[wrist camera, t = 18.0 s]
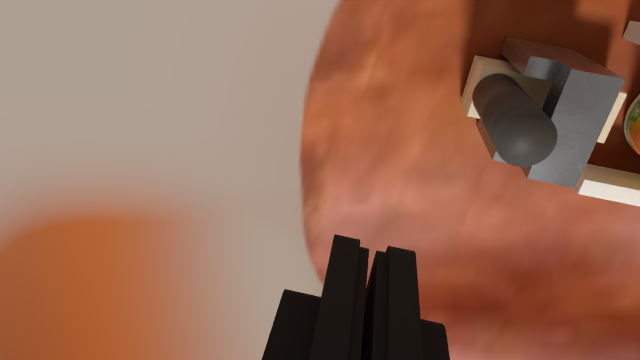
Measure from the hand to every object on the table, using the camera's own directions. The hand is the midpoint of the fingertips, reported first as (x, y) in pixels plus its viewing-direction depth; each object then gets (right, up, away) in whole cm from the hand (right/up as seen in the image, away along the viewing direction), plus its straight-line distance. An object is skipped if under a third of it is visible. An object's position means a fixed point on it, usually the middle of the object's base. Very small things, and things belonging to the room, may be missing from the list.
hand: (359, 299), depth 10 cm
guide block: (+12, +8, +20) cm, 25 cm away
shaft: (+12, +8, +20) cm, 25 cm away
